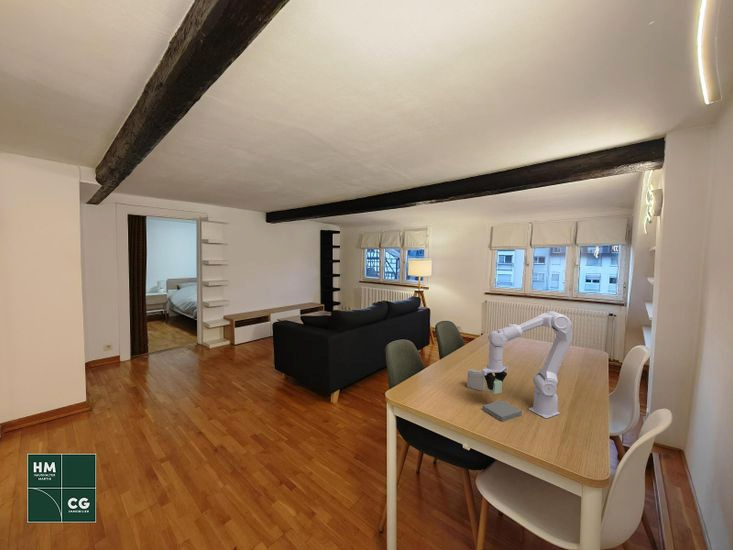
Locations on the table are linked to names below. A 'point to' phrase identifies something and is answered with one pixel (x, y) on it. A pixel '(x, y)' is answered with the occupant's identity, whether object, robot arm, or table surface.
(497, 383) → the sage cube
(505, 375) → the robot arm
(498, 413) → the slate plinth
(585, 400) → the table surface
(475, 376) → the medicine box
